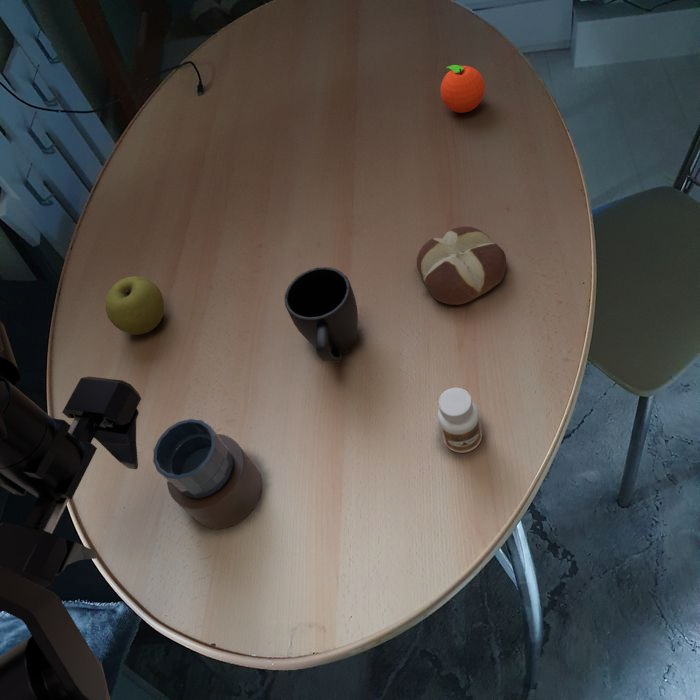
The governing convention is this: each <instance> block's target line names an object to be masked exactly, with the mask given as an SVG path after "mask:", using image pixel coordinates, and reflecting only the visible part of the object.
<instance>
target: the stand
mask: <svg viewBox="0 0 700 700" xmlns="http://www.w3.org/2000/svg"><path fill="white" fill-rule="evenodd" d="M216 434H217V435H218V436H219V437H220V438H221V440H222V441H223V442H224V443H225V444H226V446H227V447H228V448H229V450H230V452H231V454H232V459H233V467H232V470H231V473H230V476H229V478H228V480H227V481H226V482H225V483H224V485H223V486H222V487H221V488H220V489H219V490H217V491H216V492H214V493H213V494H211V495H209V496H206V497H201V498H192V497H187V496H185V495H184V494H182V493H181V492H180V491H178V490H177V489H176V488H175V487H174V486H173V485H172V484H171V483H170V482H169V481H168V480H167V479H166V484H167V489H168V492H169V494H170V496H171V498H172V499H173V501H174V502H175V503H177V504H178V505H179V506H180V507H181V508H182V509H183V510H184V511H185V512H187V514H189V515H190V516H191V517H193V519H194V520H196V521H197V522H198V523H199V524H200V525H202V526H203V527H206V528H209V529H215V530H221V529H228V528H231V527H234V526H236V525H238V524H239V523H241V522H243V521H244V520H246V519H247V518H248V517H249V515H251V514H252V512H254V509H255V508H256V507H257V505H258V503H259V502H260V501H259V500H260V499H261V496H262V495H261V494H262V492H263V491H262V490H263V481H262V480H263V479H262V476H261V473H260V470H259V469H258V467H257V466H256V465H255V463H254V462H253V461H252V460H251V458H250V457H249V456H248V455H247V453H246V452H245V451H244V450H243V448H242V447H241V446H240V445H239V443H238V442H237V441H236V440H234V439H233V438H232V437H230V436H228V435H225V434H221V433H216Z"/></svg>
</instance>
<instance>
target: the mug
mask: <svg viewBox="0 0 700 700" xmlns="http://www.w3.org/2000/svg"><path fill="white" fill-rule="evenodd" d="M284 306H285V308H286V311H287V312H288V314H289V315H288V316H289V317H290V318H291V319H290V320H291V321H292V323H293V324H294V326H295V327H296V329H297V331H298V332H299V333H300V334H301V335H302V336H303V338H304V339H305V340H306V341H308V342H309V344H311V345H312V346H313V347H314V348H316V349H315V350H316V352H317V355H318V357H319V358H320V359H321V360H322V361H325V362H330V363H338V362H340V361H341V360H342V359H343V354H346V353H347V352H348V351H350V350H351V349H352V348H353V347H354V345H355V344H356V341H357V339H358V325H359V323H358V322H359V313H358V305H357V301H356V296H355V292H354V291H353V288H352V285H351V282H350V279H349V278H348V276H347V275H346V274H344V273H343V271H341V270H339V269H337V268H333V267H329V266H328V267H327V266H320V267H314V268H311V269H308V270H306V271H304V272H302V273H300V274H299V275H298V276H296V277H295V278H294V279H293V280H292V281H291V282H290V283H289V285H288V287H287V288H286V291H285V293H284Z"/></svg>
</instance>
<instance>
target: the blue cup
mask: <svg viewBox="0 0 700 700" xmlns="http://www.w3.org/2000/svg"><path fill="white" fill-rule="evenodd" d="M217 434H218V433H217V432H216V431H215V430H214V428H212V426H211V424H210V425H209V424H208V423H207V422H206V421H204V420H201V419H195V418H189V419H184V420H180V421H177V422H176V423H174V424H173V425H171V426H169V427H168V428H167V429H166V430H165V431H164V432H163V433H162V434H161V435H160V436H159V438H158V439H157V442H156V444H155V446H154V449H153V459H152V462H153V464H154V466H155V469H156V471H157V472H158V473H159V474H160V475H161V476H162V477H163V478H164V479H165V480H166V481H167V480H168V481H169V482H170V483H171V484H172V485H173V486H174V487H175V488H176V489H177V490H178V491H180V492H181V493H182V494H184V495H185V496H187V497H192V498H201V497H206V496H209V495H211V494H213V493H214V492H216V491H217V490H219V489H220V488H221V487H222V486H223V485H224V483H225V482H226V481H227V480H228V478H229V476H230V473H231V470H232V467H233V459H232V454H231V452H230V450H229V448H228V447H227V446H226V444H225V443H224V442H223V441H222V440H221V438H220V437H219V436H218V435H217Z"/></svg>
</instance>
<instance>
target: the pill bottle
mask: <svg viewBox="0 0 700 700" xmlns="http://www.w3.org/2000/svg"><path fill="white" fill-rule="evenodd" d="M436 417H437V421H438V425H439V428H440V434H441V437H442V441H443V443H444V445H445V446H446V447H447V448H448V450H451V451H453V452H455V453H460V454H464V453H468V452H469V453H470V451H473V450H474V449H476V448H477V447H478V446H479V444H481V441H482V438H483V432H482V426H481V425H482V424H481V419H480V412H479V408H478V406H477V405H476V403H475V402H474V400H473V399H472V396H471V394H470V393H469V392H468V391H467V390H466V389H464V388H461V387H450V388H448V389H446V390H445V391H443V392H442V393H441V394H440V396H439V398H438V410H437V416H436Z"/></svg>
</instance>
